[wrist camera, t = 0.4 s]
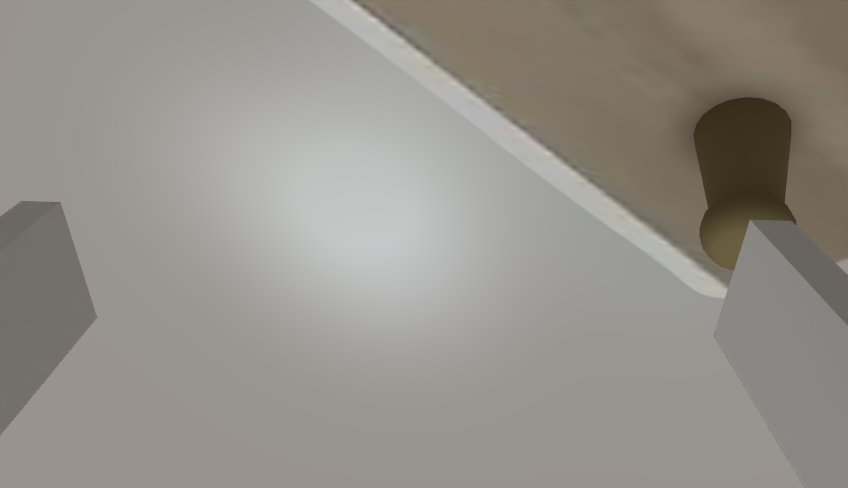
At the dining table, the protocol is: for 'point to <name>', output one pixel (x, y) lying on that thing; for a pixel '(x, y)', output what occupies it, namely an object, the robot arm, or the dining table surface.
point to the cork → (741, 172)
